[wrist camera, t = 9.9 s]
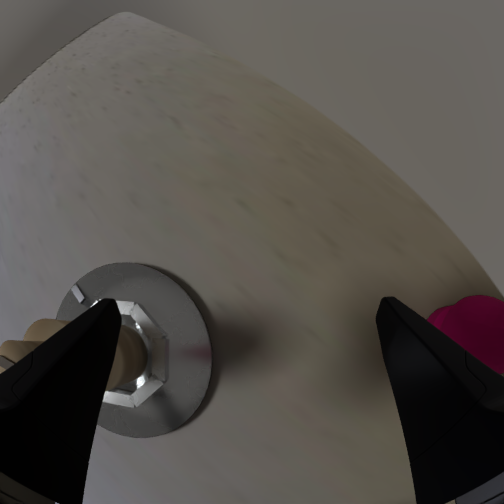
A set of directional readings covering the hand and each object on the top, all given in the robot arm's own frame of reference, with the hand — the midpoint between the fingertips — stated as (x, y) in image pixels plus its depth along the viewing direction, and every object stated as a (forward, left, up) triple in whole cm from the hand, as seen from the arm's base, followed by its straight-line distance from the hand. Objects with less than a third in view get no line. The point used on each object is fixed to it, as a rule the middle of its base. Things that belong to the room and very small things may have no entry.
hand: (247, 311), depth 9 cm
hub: (+7, +8, -14) cm, 17 cm away
